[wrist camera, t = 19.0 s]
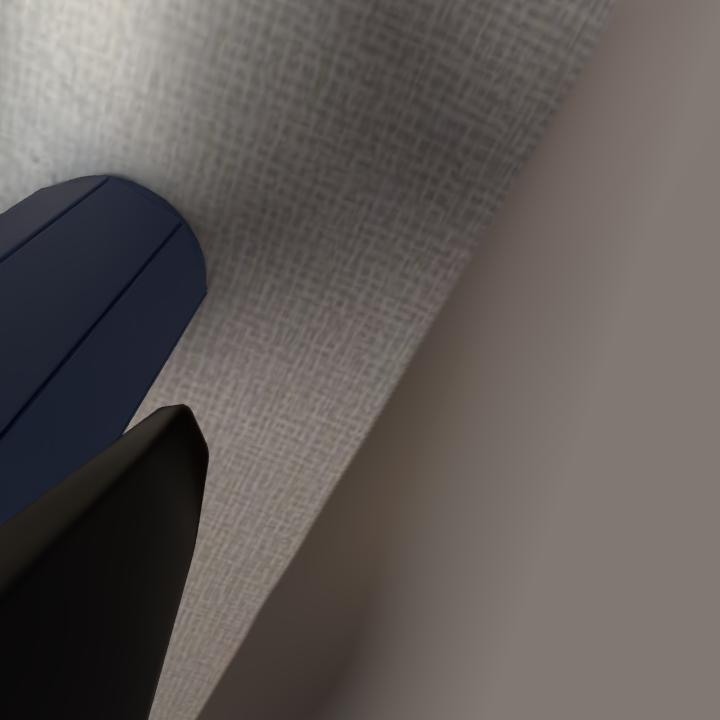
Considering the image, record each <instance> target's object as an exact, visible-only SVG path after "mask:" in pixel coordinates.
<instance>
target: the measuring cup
mask: <svg viewBox="0 0 720 720" xmlns="http://www.w3.org/2000/svg"><path fill="white" fill-rule="evenodd" d="M206 290H207V286H206V270H205V262H204V258H203V255H202V251H201V248H200V246H199V244H198V241H197V239H196V237H195V236H194V234H193V232H192V230H191V229H190V227H189V226H188V224H187V223H186V222H185V220H184V219H183V218H182V217H181V216H180V215H179V214H178V212H177V211H176V210H175V209H174V208H173V207H171V206H170V205H169V204H168V203H167V202H166V201H165V200H163V199H162V198H160V197H159V196H157V195H156V194H155V193H153V192H151V191H149V190H148V189H146V188H144V187H142V186H140V185H137V184H135V183H132V182H130V181H126V180H123V179H119V178H114V177H108V176H86V177H80V178H76V179H72V180H69V181H67V182H65V183H62V184H60V185H57V186H52V187H46V188H41V189H40V190H38V191H36V192H35V193H33V194H32V195H30V196H29V197H27V198H26V199H24V200H22V201H21V202H19V203H18V204H16V205H15V206H13V207H12V208H10V209H8V210H7V211H5V212H4V213H2V214H1V215H0V526H1V525H2V524H4V523H5V522H6V521H8V520H9V519H11V518H12V517H13V516H15V515H16V514H17V513H19V512H20V511H21V510H23V509H24V508H25V507H27V506H28V505H29V504H31V503H32V502H33V501H35V500H36V499H37V498H39V497H40V496H41V495H43V494H44V493H45V492H47V491H48V490H50V489H51V488H52V487H54V486H55V485H56V484H58V483H59V482H60V481H62V480H63V479H64V478H66V477H67V476H68V475H70V474H71V473H72V472H74V471H75V470H76V469H78V468H79V467H80V466H82V465H83V464H84V463H86V462H87V461H88V460H90V459H91V458H93V457H94V456H95V455H97V454H98V453H99V452H101V451H102V450H103V449H105V448H106V447H107V446H109V445H110V444H111V443H113V442H114V441H115V440H117V439H118V438H119V437H121V436H122V435H123V433H124V431H125V430H126V428H127V426H128V425H129V423H130V421H131V420H132V418H133V416H134V415H135V413H136V411H137V410H138V408H139V406H140V405H141V403H142V401H143V400H144V398H145V396H146V395H147V393H148V391H149V390H150V388H151V386H152V385H153V383H154V381H155V380H156V378H157V376H158V375H159V373H160V371H161V370H162V368H163V366H164V365H165V363H166V361H167V360H168V358H169V356H170V355H171V353H172V351H173V350H174V348H175V346H176V345H177V343H178V341H179V340H180V338H181V336H182V334H183V333H184V331H185V329H186V328H187V326H188V324H189V323H190V321H191V319H192V318H193V316H194V314H195V313H196V311H197V309H198V308H199V306H200V304H201V303H202V301H203V299H204V298H205V296H206V294H207V292H206Z"/></svg>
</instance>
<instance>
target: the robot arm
mask: <svg viewBox="0 0 720 720" xmlns="http://www.w3.org/2000/svg"><path fill="white" fill-rule="evenodd" d="M208 462H209V451H208V446H207V443H206V441H205V439H204V437H203V434H202V432H201V430H200V428H199V425H198V423H197V421H196V419H195V417H194V414H193V412H192V411H191V409H190V408H189V407H188V406H186V405H184V404H180V405H173V406H165V407H161V408H159V409H157V410H156V411H154V412H153V413H152V414H150V415H149V416H148V417H146V418H145V419H144V420H142V421H141V422H140V423H138V424H137V425H136V426H134V427H133V428H132V429H130V430H129V431H127V432H126V433H125V434H123V435H122V436H121V437H119V438H118V439H117V440H115V441H114V442H113V443H111V444H110V445H109V446H107V447H106V448H105V449H103V450H102V451H101V452H99V453H98V454H97V455H95V456H94V457H93V458H91V459H90V460H88V461H87V462H86V463H84V464H83V465H82V466H80V467H79V468H78V469H76V470H75V471H74V472H72V473H71V474H70V475H68V476H67V477H66V478H64V479H63V480H62V481H60V482H59V483H58V484H56V485H55V486H54V487H52V488H51V489H50V490H48V491H47V492H45V493H44V494H43V495H41V496H40V497H39V498H37V499H36V500H35V501H33V502H32V503H31V504H29V505H28V506H27V507H25V508H24V509H23V510H21V511H20V512H19V513H17V514H16V515H15V516H13V517H12V518H11V519H9V520H8V521H6V522H5V523H4V524H2V525H1V526H0V720H148V718H149V714H150V711H151V707H152V703H153V700H154V696H155V692H156V689H157V685H158V681H159V678H160V674H161V670H162V667H163V663H164V659H165V656H166V652H167V648H168V645H169V641H170V637H171V634H172V630H173V627H174V623H175V619H176V616H177V612H178V608H179V605H180V601H181V597H182V594H183V590H184V586H185V583H186V579H187V575H188V572H189V568H190V564H191V561H192V557H193V553H194V548H195V544H196V538H197V533H198V527H199V520H200V514H201V507H202V501H203V494H204V488H205V481H206V475H207V468H208Z"/></svg>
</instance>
